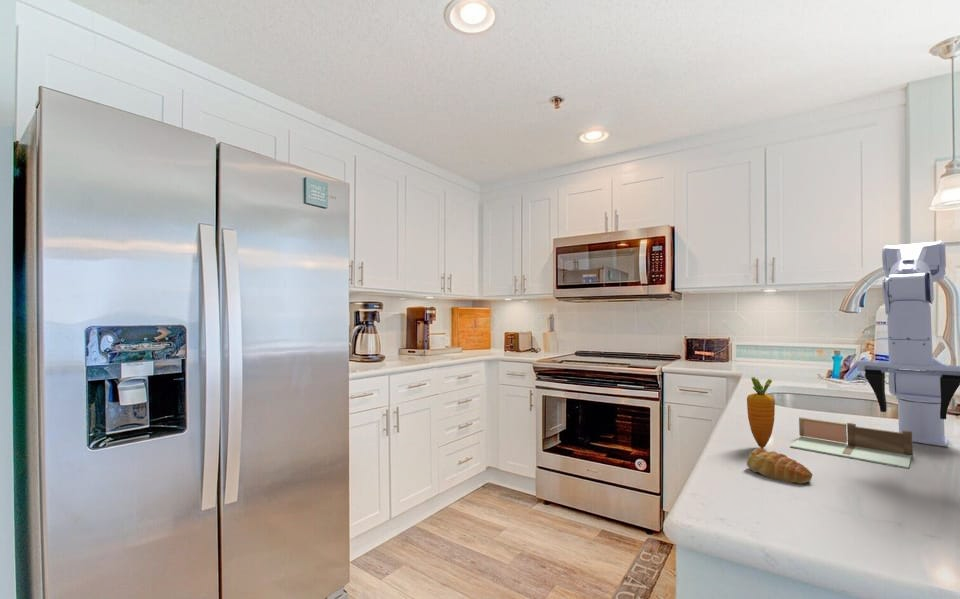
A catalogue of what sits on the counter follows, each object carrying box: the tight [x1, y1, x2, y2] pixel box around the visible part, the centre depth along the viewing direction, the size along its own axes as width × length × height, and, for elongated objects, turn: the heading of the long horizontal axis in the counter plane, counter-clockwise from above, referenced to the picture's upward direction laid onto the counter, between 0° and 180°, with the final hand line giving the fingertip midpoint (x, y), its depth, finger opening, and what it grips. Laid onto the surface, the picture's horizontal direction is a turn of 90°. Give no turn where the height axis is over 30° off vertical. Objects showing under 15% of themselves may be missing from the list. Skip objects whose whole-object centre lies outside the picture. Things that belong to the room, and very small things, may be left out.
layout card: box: [789, 436, 913, 470], centre depth 91 cm, size 14×18×1 cm
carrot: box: [746, 376, 776, 449], centre depth 92 cm, size 5×5×15 cm
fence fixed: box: [846, 422, 914, 456], centre depth 90 cm, size 1×10×4 cm, turn 43°
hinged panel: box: [798, 416, 848, 443], centre depth 97 cm, size 1×8×4 cm, turn 44°
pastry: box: [746, 447, 813, 485], centre depth 77 cm, size 9×7×4 cm
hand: (912, 414), depth 79 cm, fingers open, 7 cm apart
